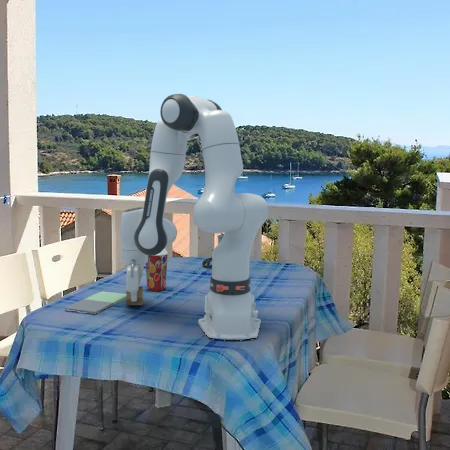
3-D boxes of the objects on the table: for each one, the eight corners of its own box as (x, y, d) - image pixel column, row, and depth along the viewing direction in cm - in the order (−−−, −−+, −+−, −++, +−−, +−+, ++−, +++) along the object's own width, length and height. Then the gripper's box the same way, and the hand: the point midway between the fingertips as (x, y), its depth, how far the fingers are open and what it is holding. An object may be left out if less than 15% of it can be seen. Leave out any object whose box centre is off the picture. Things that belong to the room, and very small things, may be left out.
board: (95, 315, 178) (95, 311, 178) (65, 311, 182) (64, 308, 182) (129, 297, 199) (129, 294, 199) (101, 294, 203) (101, 291, 202)
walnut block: (141, 305, 187) (141, 290, 187) (126, 305, 187) (126, 290, 186) (142, 300, 192) (142, 286, 192) (127, 301, 192) (127, 286, 191)
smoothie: (172, 289, 211) (172, 235, 208) (154, 293, 205) (155, 238, 202) (157, 285, 216) (157, 232, 213) (140, 289, 210) (139, 235, 207)
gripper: (142, 263, 178) (142, 306, 179) (145, 251, 198) (146, 290, 200) (121, 263, 177) (122, 307, 179) (127, 251, 197) (128, 290, 199)
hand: (134, 298), depth 189 cm, fingers closed on walnut block, 5 cm apart
